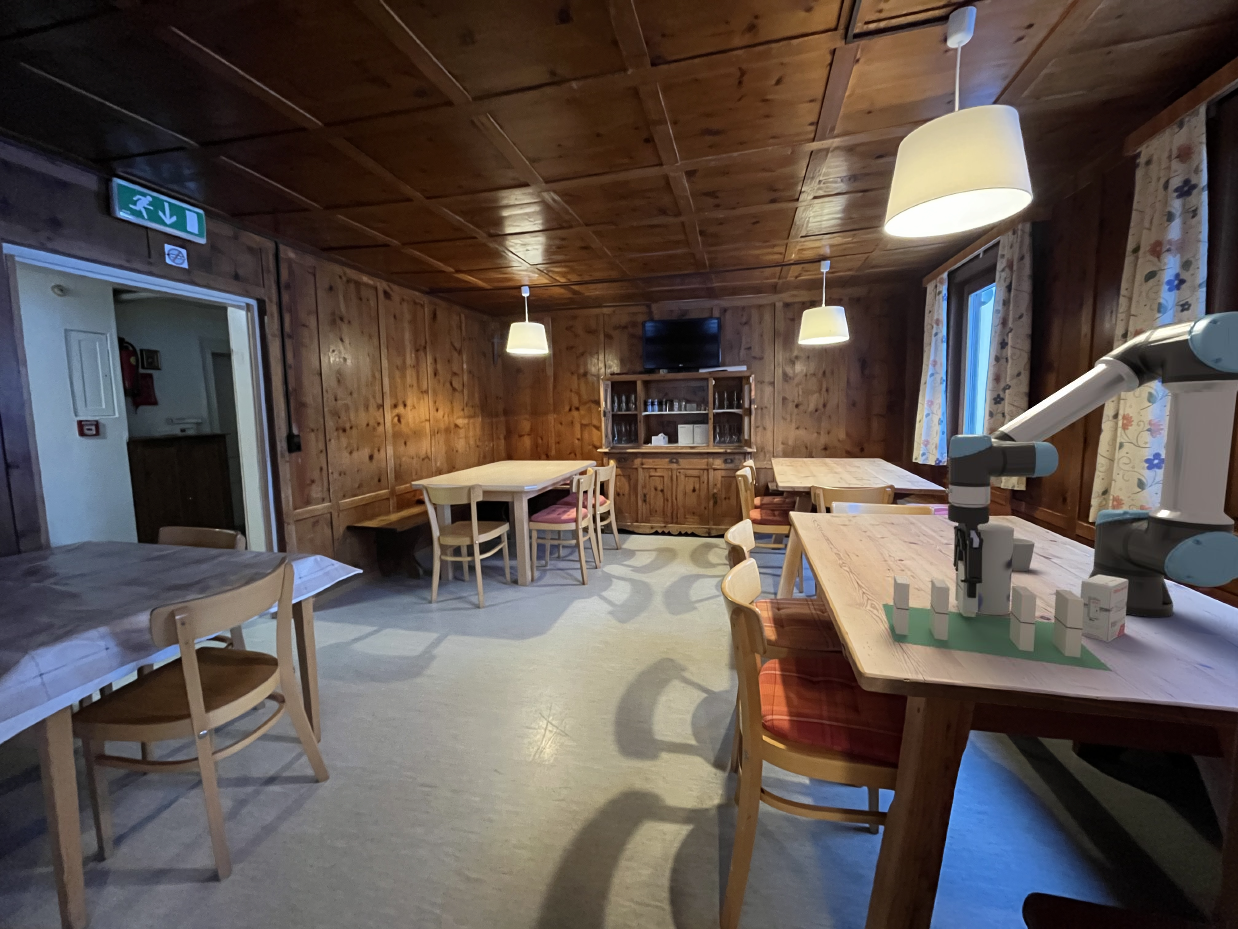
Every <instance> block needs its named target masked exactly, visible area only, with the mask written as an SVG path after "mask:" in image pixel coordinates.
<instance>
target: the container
mask: <svg viewBox="0 0 1238 929" xmlns="http://www.w3.org/2000/svg"><path fill="white" fill-rule="evenodd" d="M978 532H981V538H983V540H984V542H983V547H982V583H979V584H978V612H977V614H982V615H990V616H1001V615H1002V616H1003V615H1007V614H1009V613H1010V611H1011V607H1010V606H1011V592H1012V572H1013V570H1012V555H1013V538H1015V537H1014V535H1015V533H1014V532H1015V528H1014V527H1012V526H1010V525H1006V524H1002V523H1001V524H1000V523H995V522H988V523H986V524H979V525H978Z"/></svg>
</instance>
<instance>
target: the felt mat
mask: <svg viewBox="0 0 1238 929" xmlns="http://www.w3.org/2000/svg"><path fill="white" fill-rule="evenodd" d="M882 607H883V611H884V615H885V617H886V618H885V619H886V621H887V624H888V627H889V632H890V634H891V637H892V641H893V642H894V643H902V644H910V645H916V646H917V645H918V646H921V647H922V646H924V647H929V648H939V649H944V650H945V649H946V650H950V651H951V650H953V651H961V652H966V653H973V654H974V653H975V654H982V655H990V656H996V657H997V656H998V657H1002V658H1003V657H1004V658H1010V659H1019V660H1027V661H1034V662H1040V663H1049V664H1055V665H1063V666H1071V667H1078V668H1086V669H1091V670H1093V669H1094V670H1097V671H1098V670H1100V671H1106V672H1107V671H1108V672H1113V670H1112V669H1111V668H1110V667H1109V666H1108V665H1106V664H1105V663H1104V662H1103V661H1102V660H1101V659H1100V658H1098V657H1097V655H1096V654H1094V653H1093V652H1092V651H1091V650H1090V649H1089V648H1087V647H1086V646H1085V645H1084V644H1083V643H1082V642H1081V653H1080V658H1079V657H1072V656H1065V655H1064V654H1063V653H1062V652H1061V651H1060V650H1059V649H1058V648H1057V647H1056V646H1055V645H1054V644H1053V633H1054V622H1051V621H1042V620H1035V633H1034V651H1026V650H1019V649H1018V647H1017V646H1016V645H1015V644H1014V643H1013V641H1012V640H1011V639H1010V620H1011V617H1005V616H999V615H990V614H981V613H975V617H970V616H963V615H962V613H961V612H959V611H951V610H949V616H948V640H941V639H935V638H934V636H933V634H932V632H931V630H930V608H926V607H925V608H924V607H915V606H909V619H908V635H903V634H896V632H895V629H894V626H893V604H887V603H882Z"/></svg>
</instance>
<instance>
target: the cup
mask: <svg viewBox="0 0 1238 929" xmlns="http://www.w3.org/2000/svg"><path fill="white" fill-rule="evenodd" d="M1035 544H1036V543H1035V541H1033V540H1030V539H1025V538H1021V537H1020V538H1018V537H1013V555H1012V571H1016V572H1028V571H1029V570H1030V567H1031V562H1032V560H1033V555H1034V548H1035Z"/></svg>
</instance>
